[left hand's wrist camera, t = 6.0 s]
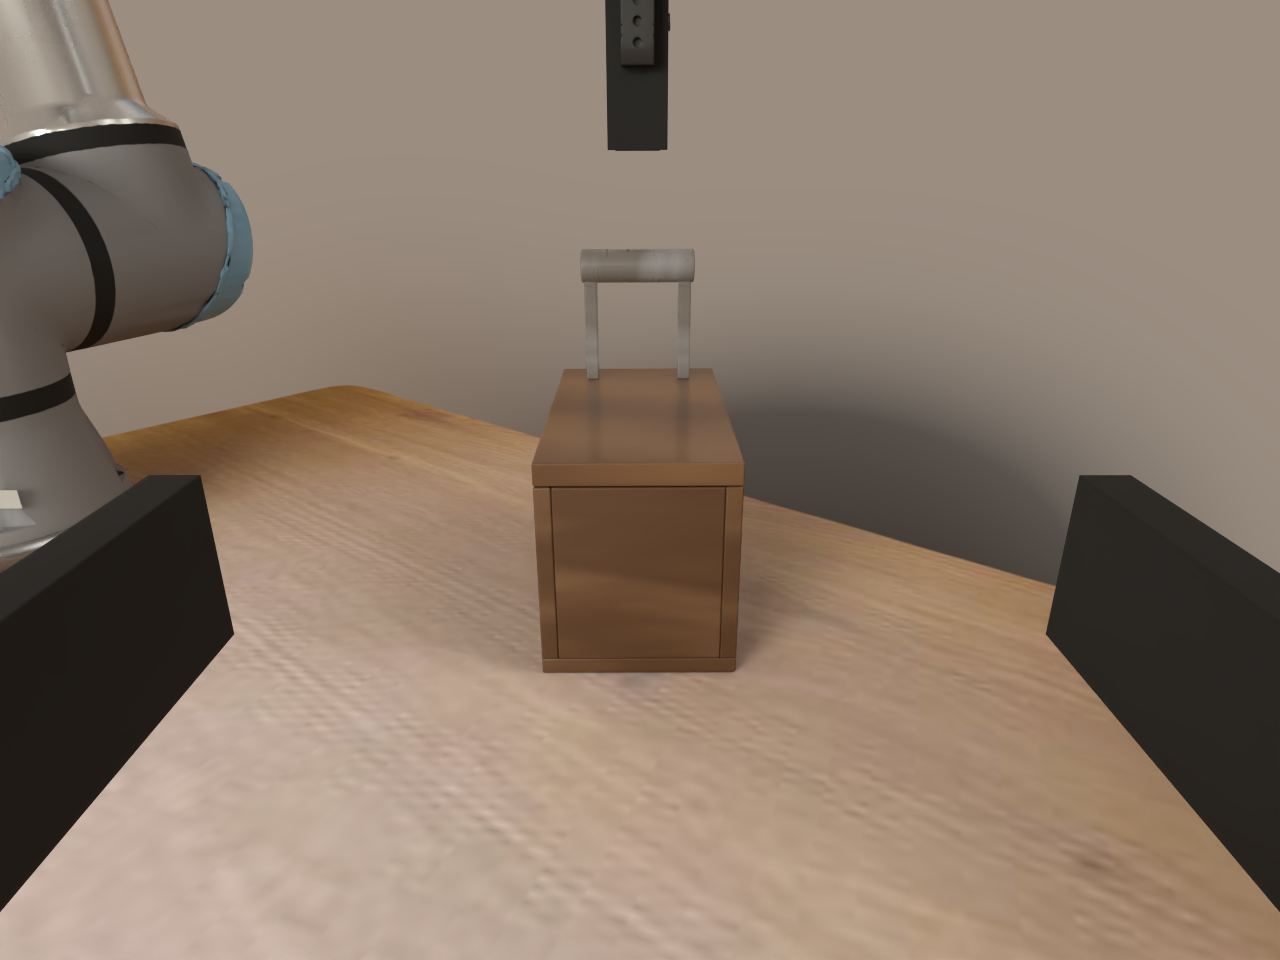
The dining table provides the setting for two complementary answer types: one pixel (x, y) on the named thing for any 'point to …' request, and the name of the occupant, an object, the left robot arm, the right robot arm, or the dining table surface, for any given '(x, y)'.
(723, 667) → the chest
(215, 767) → the dining table surface
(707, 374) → the lid
